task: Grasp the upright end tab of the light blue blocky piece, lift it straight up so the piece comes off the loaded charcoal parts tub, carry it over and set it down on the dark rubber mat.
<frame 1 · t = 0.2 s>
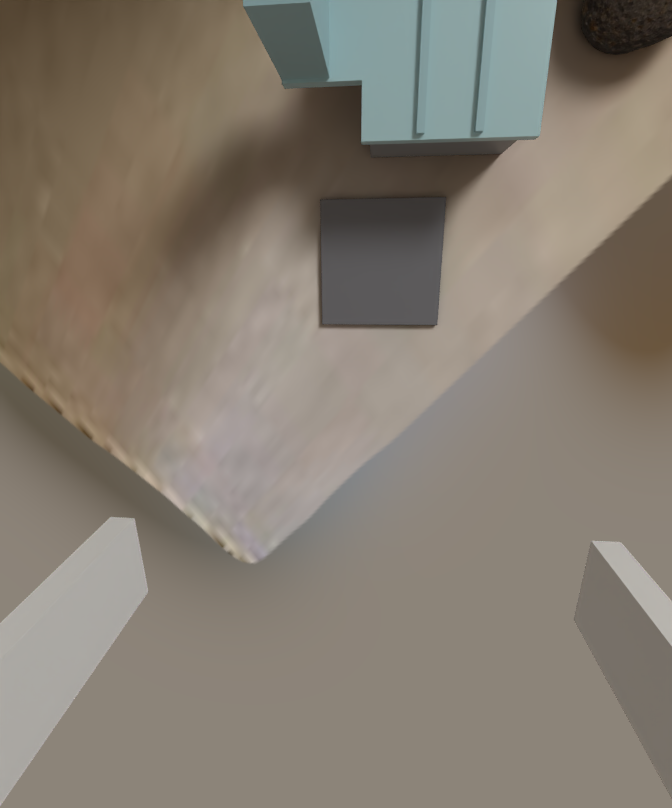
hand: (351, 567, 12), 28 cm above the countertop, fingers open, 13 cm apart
mat: (380, 264, 36), on the countertop
tub: (439, 78, 31), on the countertop
light blue blocky piece: (453, 38, 25), point 6 cm above the countertop, touching tub
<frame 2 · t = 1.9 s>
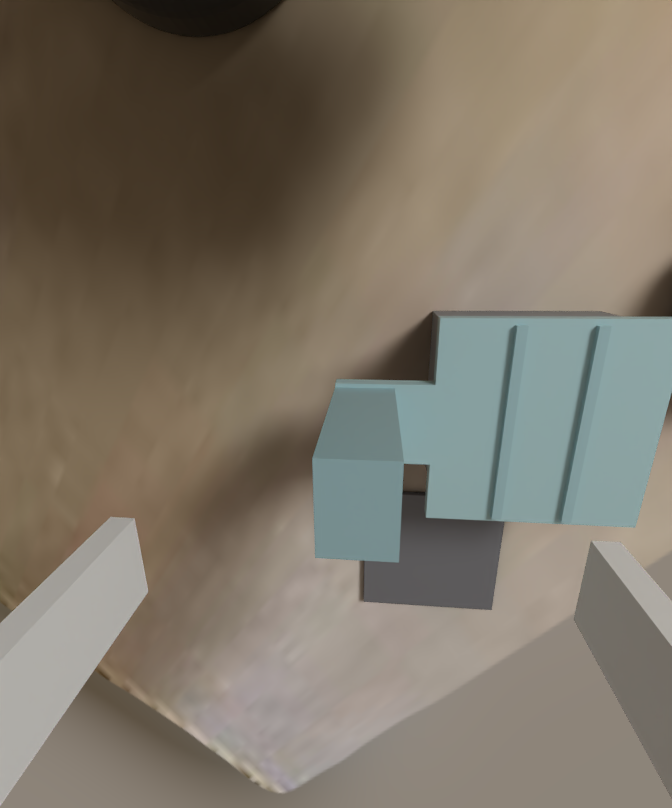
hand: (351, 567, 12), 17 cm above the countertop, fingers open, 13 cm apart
mat: (430, 550, 32), on the countertop
tub: (505, 389, 28), on the countertop
light blue blocky piece: (538, 423, 22), point 6 cm above the countertop, touching tub
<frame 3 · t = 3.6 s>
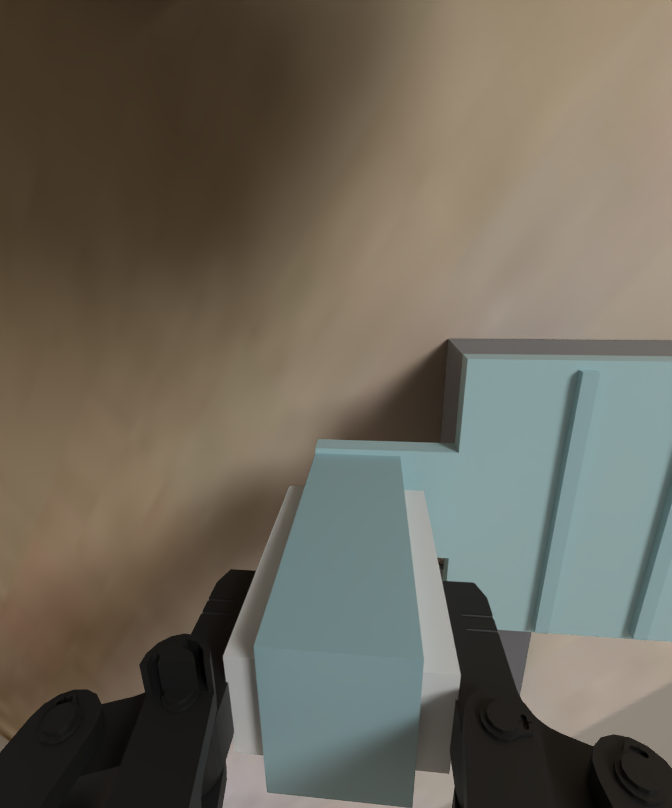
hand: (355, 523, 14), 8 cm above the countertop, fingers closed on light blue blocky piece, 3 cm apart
mat: (442, 632, 26), on the countertop
tub: (541, 438, 21), on the countertop
light blue blocky piece: (602, 502, 16), point 6 cm above the countertop, touching gripper
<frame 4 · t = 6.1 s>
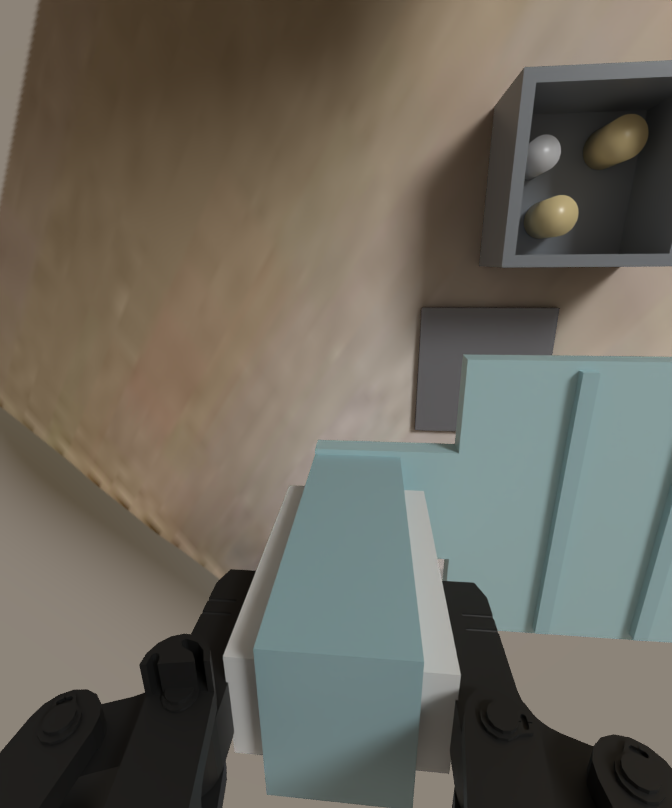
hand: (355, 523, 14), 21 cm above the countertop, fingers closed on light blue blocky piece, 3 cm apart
mat: (481, 371, 33), on the countertop
tub: (561, 188, 29), on the countertop
light blue blocky piece: (602, 503, 15), point 19 cm above the countertop, touching gripper
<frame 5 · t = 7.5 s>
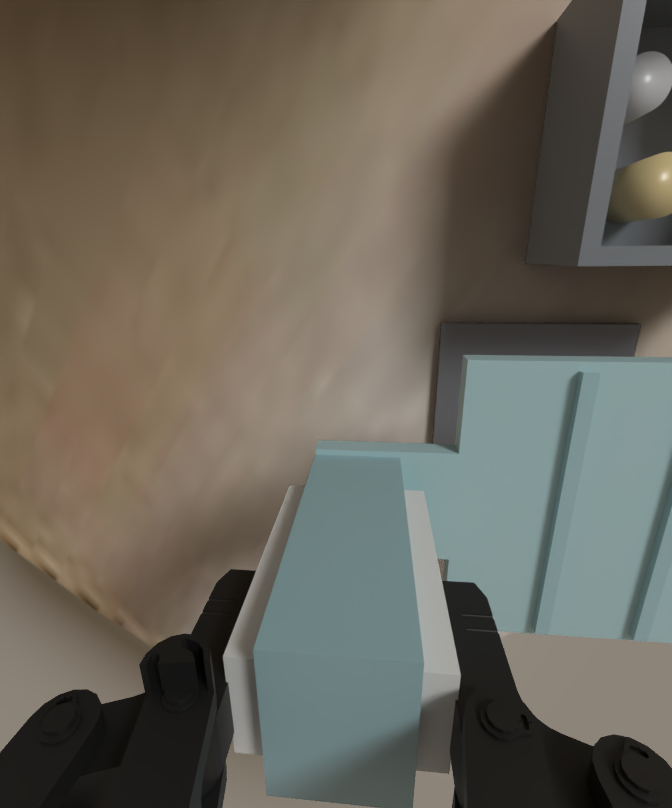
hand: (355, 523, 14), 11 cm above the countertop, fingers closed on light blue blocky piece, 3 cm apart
mat: (523, 411, 24), on the countertop
tub: (653, 148, 19), on the countertop
light blue blocky piece: (602, 503, 15), point 9 cm above the countertop, touching gripper
when the fingers open (4 cm above the countertop, at t = 8.8 s): light blue blocky piece drops 2 cm, resting on mat.
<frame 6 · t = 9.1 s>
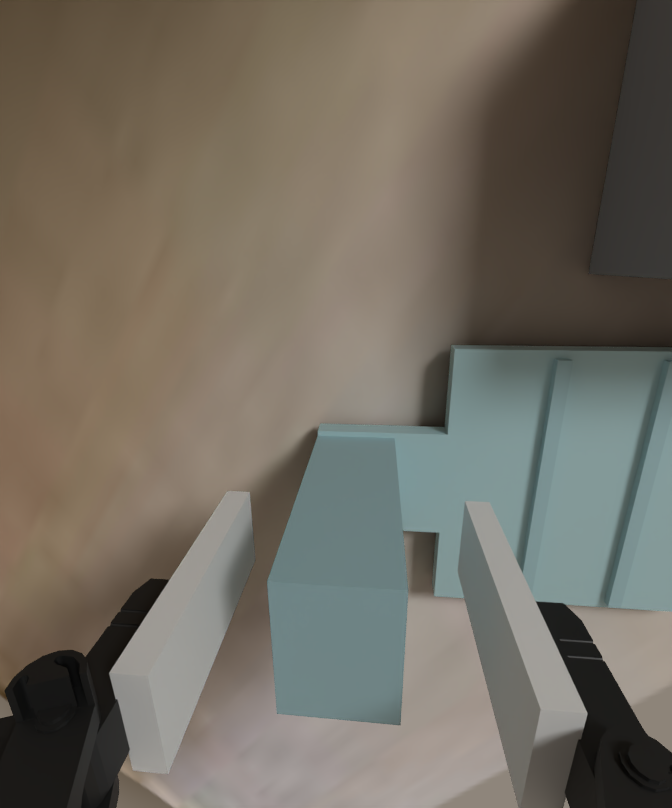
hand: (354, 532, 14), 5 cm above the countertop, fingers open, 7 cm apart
light blue blocky piece: (579, 481, 17), resting on mat
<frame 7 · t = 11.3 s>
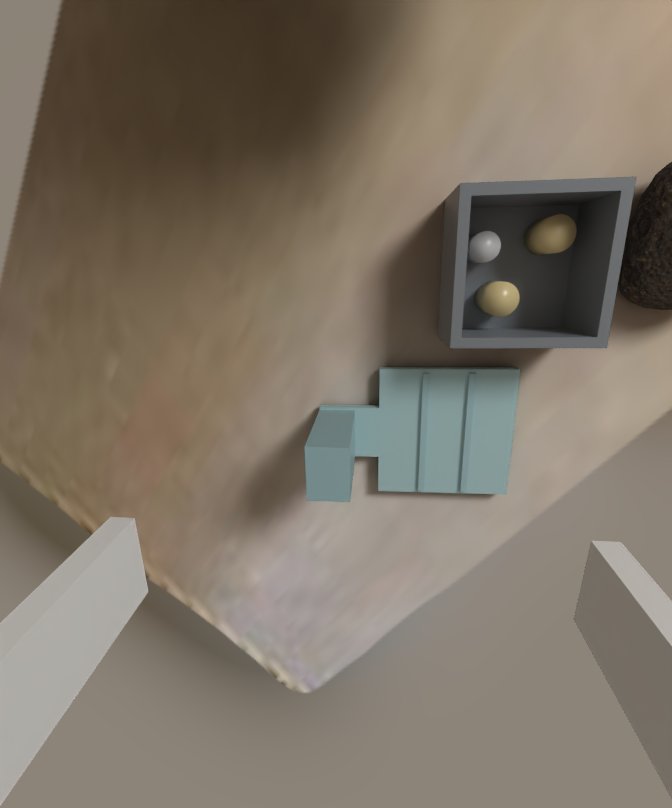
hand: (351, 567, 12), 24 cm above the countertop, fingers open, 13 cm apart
stone: (670, 237, 31), on the countertop
tub: (507, 269, 32), on the countertop
light blue blocky piece: (443, 430, 36), resting on mat
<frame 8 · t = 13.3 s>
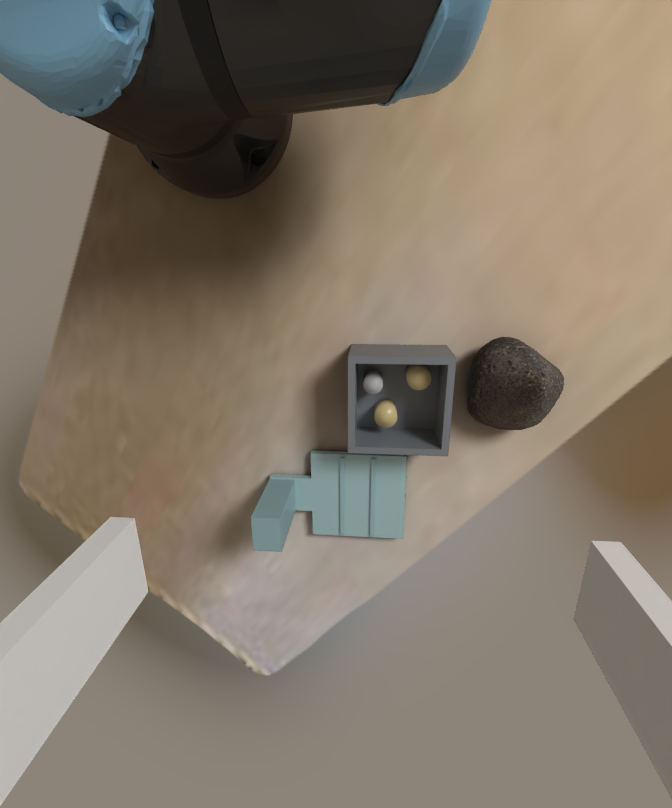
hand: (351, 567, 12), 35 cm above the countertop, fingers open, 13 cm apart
stone: (502, 378, 45), on the countertop
tub: (396, 389, 46), on the countertop
light blue blocky piece: (358, 493, 51), resting on mat
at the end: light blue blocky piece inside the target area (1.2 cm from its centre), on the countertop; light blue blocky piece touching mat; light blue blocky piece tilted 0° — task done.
